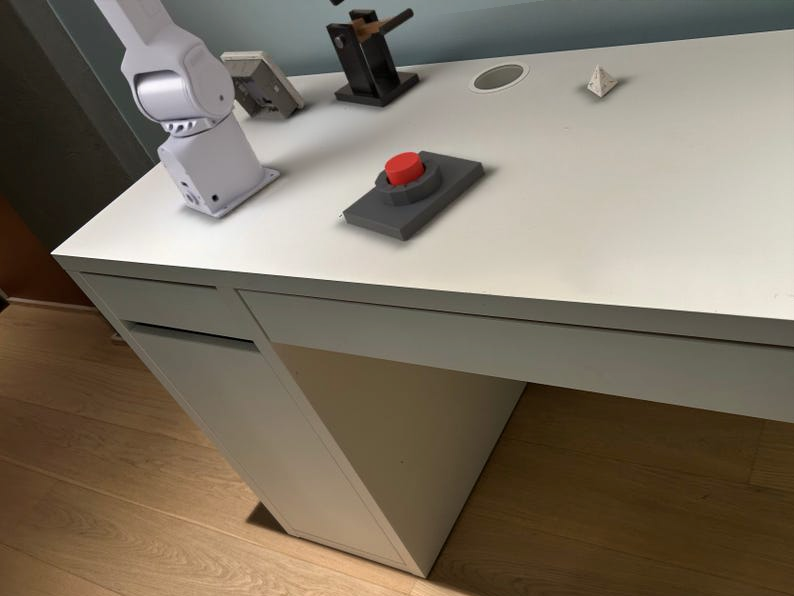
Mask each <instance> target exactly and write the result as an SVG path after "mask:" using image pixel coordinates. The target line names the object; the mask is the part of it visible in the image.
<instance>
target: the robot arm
mask: <svg viewBox="0 0 794 596" xmlns="http://www.w3.org/2000/svg"><path fill="white" fill-rule="evenodd" d="M93 1H94V3H95V4H96V6H97V7H98V9H99V10H100V12H101V13H102V15H103V17H105V19H106V21H107V22H108V24H109V25H110V26H111V28H112V29H113V31H114V32H115V34H116V36H117V37H118V39H120V41H121V43H122V44H123V46H124V48H125V49H126V50H125V53H124V56H123V59H122V62H121V66H120V71H121V73H122V75H124V77H125V79H126V80H127V82H128V84H129V86H130V89H131V92H132V97H133V100H134V102H135V104H136V106H137V109H138V110H139V111H140V112H141V114H143V116H144V117H146V119H148V120H150V121H151V122H154V123H157V124H160V125H161V127H162V128H163V130H164V131H165V132H166V133H170V134H169V136H168V138H167V139H166V140H165V141H164V142H163V143H162V144H161V145H160V146H159V147H158V148H157V154H158V158H159V160H160V162H161V164H162V165H163V167H164V169H165V170H166V172H167V173H168V175H169V176H170V178H171V180H172V181H173V183H174V184H175V186H176V187H177V189H178V191H179V192H180V194H181V195H182V197H183V199H184V200H185V205H186V206H187V207H188V208H191V209H193V210H196V211H198V212H201V213H203V214H206V215H208V216H211V217H214V218H217V219H220V218H222V217H224V216H225V215H226V214H228V213H230V212H231V211H232V210H233V209H235V208H236V207H238V206H239V205H241V204H242V203H243V202H245V201H246V200H247V199H249V198H251V197H252V196H253V195H255V194H256V193H257V192H259V191H260V190H262V189H263V188H264V187H266V186H267V185H269V184H270V183H271V182H274V180H276V179H277V178H278V177H279V176H280V175H281V173H280V171H279V170H277V169H272V168H268V167H266V166H262V164H261V162H260V160H259V159H258V156H257V155H256V153H255V151H254V149H253V147H252V145H251V143H250V142H249V140H248V138H247V136H246V134H245V132H244V131H243V129H242V127H241V125H240V123H239V120H238V119H237V118H236V116H235V114H234V112H233V111H234V110H235V109H236V106H235V105H234V103H235V98H234V97H235V92H234V85H233V81H232V78H231V76H230V74H229V72H228V70H227V69H226V67H225V66H224V65H223V64H224V63H222V62H221V61H220V60H219V59H218V58H216V57H215V56H214V55H213V54H212V53H211V52H210V50H209V49H208V47H207V46H206V44H205V42H204V40H202V38H199V37H198V36H196V35H195V34H193V33H191V32H189V31H188V30H186V29H184V28H182V27H180V26H178V25H177V24H175V22H174V21H173V19H172V17H171V16H170V14H169V13H168V11H167V9H166V8H165V6H164V4H163V3H162V1H161V0H93ZM344 1H345V0H329V2H330V3H331V4H332V6H333V7H337V6H339V5H340V4H342V3H343V2H344Z"/></svg>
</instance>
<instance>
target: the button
mask: <svg viewBox="0 0 794 596" xmlns="http://www.w3.org/2000/svg"><path fill="white" fill-rule="evenodd" d="M384 169H385V171H386V173H387V175H388V178H389V180H390V183H391V184H392V185H394V186H397V185H404V184H408V183H410V182H413V181H415V180H417V179H418V178H419V177H420V176H422V175H423V174H424V168H423V165H422V163H421V160H420V157H419V155H418V152H414V151H406V152H402V153H398V154H397V155H395V156H392V157H391V158H390V159H388V160H387V161H386V162H385V164H384Z"/></svg>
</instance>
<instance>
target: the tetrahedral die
mask: <svg viewBox="0 0 794 596" xmlns="http://www.w3.org/2000/svg"><path fill="white" fill-rule="evenodd" d="M618 83H619V81H617V80H616V79H615V78H614V77H613V76H612V75H611V74H610V73H608V71H606V70H605V69H604V68H603V67H602V66H601V65H600V64H597V66H596V67H595V69H594V71H593V74H592V76H591V78H590V80H589V83H588V85H587V87H586V88H587V90H589V91H591V92H592V93H594V94H595V95H596V96H598V97H599V98H603V97H604V96H605V95H606V94H607V93H608V92H610V91H611V90H612V88H614V87H615V86H616V85H618Z"/></svg>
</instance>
